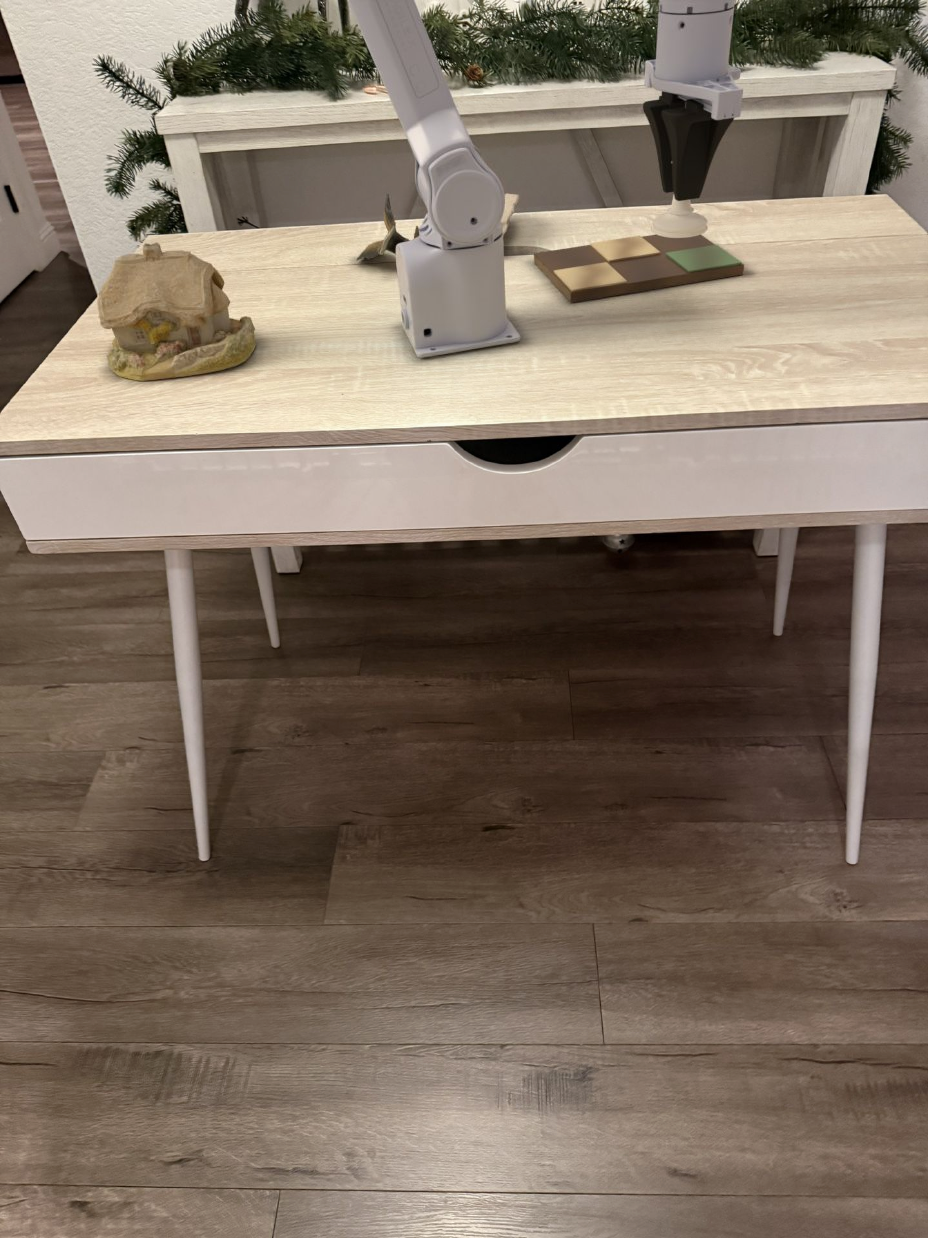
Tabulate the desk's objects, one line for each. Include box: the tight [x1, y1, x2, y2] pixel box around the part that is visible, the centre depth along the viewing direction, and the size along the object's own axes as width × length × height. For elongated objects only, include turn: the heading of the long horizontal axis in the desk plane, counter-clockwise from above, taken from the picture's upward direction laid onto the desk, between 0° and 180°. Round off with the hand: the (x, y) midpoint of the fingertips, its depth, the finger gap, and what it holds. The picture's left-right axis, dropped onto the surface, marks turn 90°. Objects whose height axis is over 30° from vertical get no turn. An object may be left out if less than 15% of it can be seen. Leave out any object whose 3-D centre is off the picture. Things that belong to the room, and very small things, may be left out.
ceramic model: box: [96, 241, 256, 382], centre depth 82 cm, size 14×11×10 cm
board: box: [533, 234, 745, 303], centre depth 94 cm, size 18×12×1 cm, turn 104°
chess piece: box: [650, 106, 709, 238], centre depth 78 cm, size 5×5×10 cm
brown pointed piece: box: [356, 193, 419, 261], centre depth 98 cm, size 8×7×9 cm
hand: (681, 194), depth 80 cm, fingers closed on chess piece
